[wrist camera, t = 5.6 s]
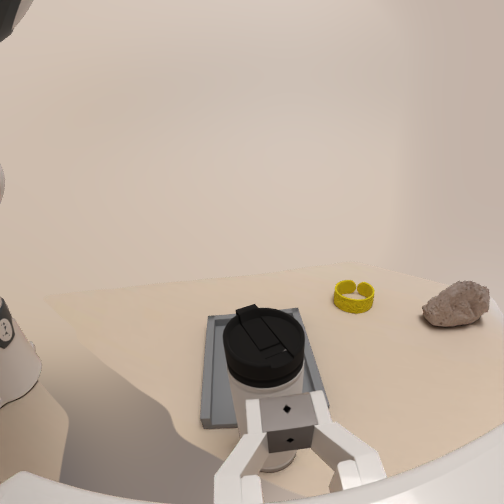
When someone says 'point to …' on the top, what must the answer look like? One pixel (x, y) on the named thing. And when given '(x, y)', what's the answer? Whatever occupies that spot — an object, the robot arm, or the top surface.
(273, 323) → the travel mug
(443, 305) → the pumice stone
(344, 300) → the bracelet
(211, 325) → the slate tray
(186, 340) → the top surface
